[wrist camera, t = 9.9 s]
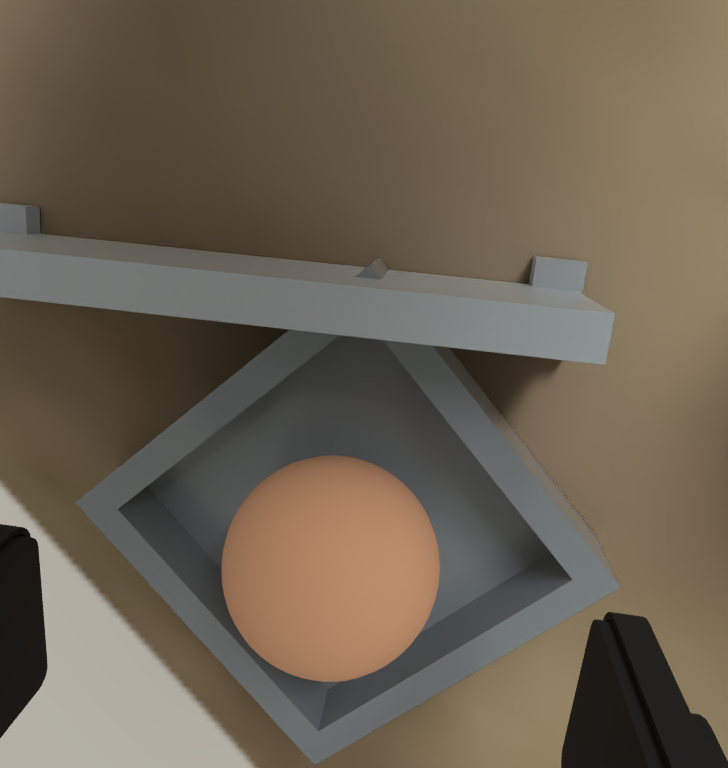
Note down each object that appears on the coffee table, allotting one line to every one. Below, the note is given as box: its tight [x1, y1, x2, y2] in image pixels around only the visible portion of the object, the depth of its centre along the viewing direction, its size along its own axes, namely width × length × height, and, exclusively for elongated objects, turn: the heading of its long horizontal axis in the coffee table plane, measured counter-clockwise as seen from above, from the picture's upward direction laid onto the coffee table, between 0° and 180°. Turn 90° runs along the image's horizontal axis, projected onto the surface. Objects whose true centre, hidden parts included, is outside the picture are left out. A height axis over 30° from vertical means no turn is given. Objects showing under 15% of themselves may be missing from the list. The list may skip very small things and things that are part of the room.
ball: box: [222, 455, 440, 682], centre depth 15 cm, size 5×5×5 cm
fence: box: [0, 203, 615, 365], centre depth 15 cm, size 2×15×4 cm, turn 85°
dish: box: [75, 258, 621, 765], centre depth 17 cm, size 10×10×2 cm
